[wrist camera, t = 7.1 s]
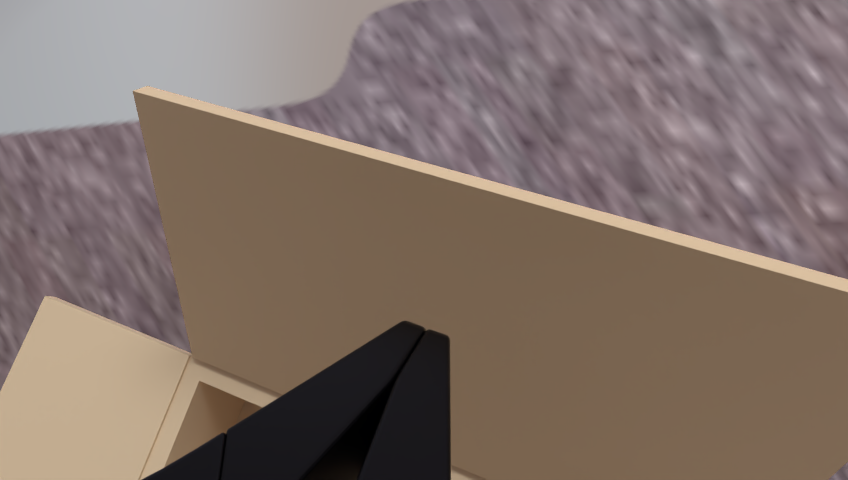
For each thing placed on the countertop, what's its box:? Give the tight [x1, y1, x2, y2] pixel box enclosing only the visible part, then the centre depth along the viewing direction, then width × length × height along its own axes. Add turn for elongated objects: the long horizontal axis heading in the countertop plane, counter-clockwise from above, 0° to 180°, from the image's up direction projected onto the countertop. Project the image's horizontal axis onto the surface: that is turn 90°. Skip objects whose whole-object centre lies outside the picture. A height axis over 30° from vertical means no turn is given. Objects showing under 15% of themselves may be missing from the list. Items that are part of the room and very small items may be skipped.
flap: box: [133, 86, 848, 480], centre depth 12 cm, size 8×16×1 cm
